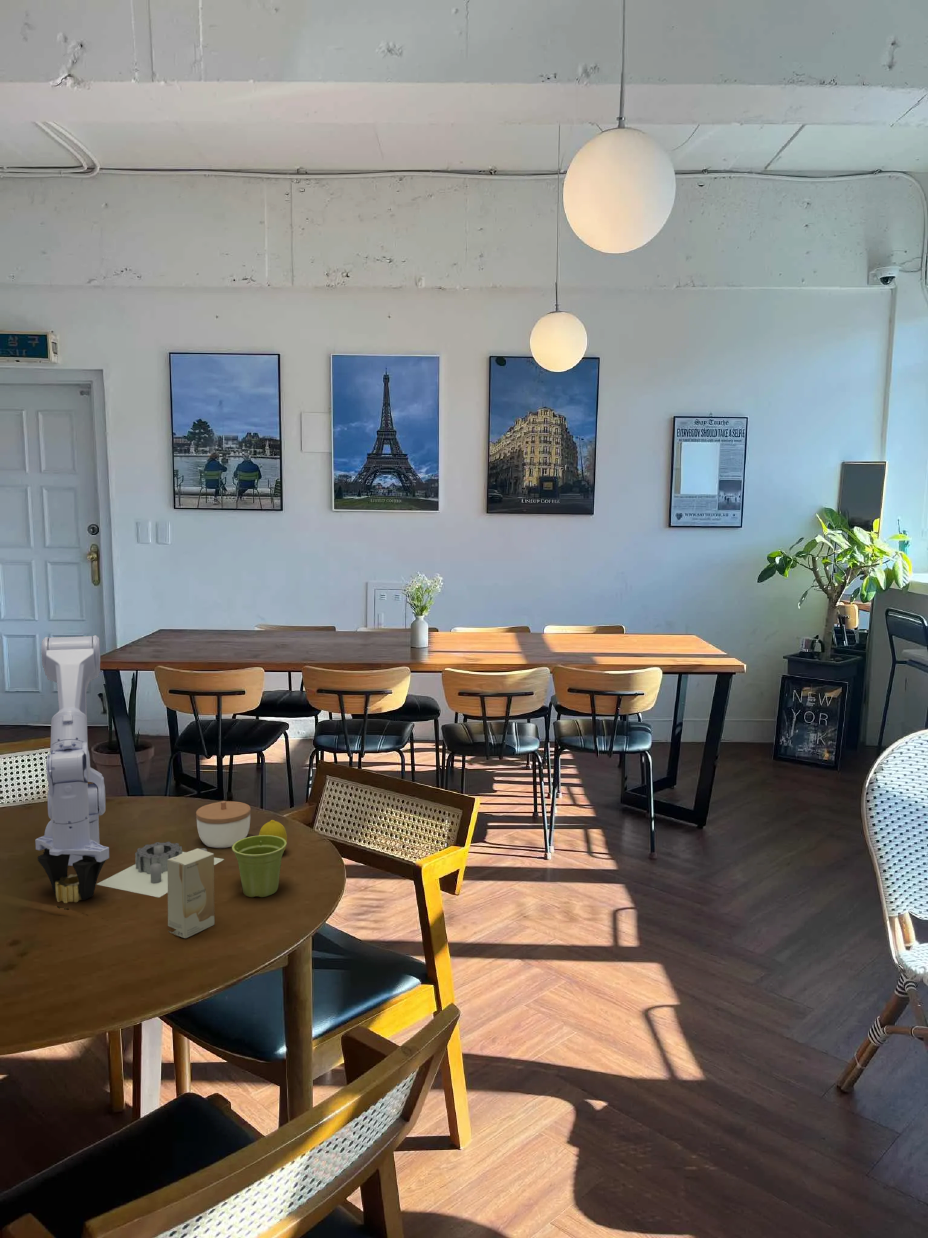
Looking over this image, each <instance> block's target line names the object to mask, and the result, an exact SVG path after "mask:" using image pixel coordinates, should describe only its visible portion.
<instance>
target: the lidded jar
mask: <svg viewBox="0 0 928 1238" xmlns="http://www.w3.org/2000/svg"><path fill="white" fill-rule="evenodd" d="M251 811H252V810H251V806H250V805H249V804H248V803H245V802H240V801H231V800H230V801H229V800H228V801H226V800H221V801H219V802H218V801H216V802H212V803H208V804H205V805H203V806H201V807H199V808H197V810H196V812H195V818H196V828H197V832H198V836H199V838H200V840H201V841H202V843H203V844H204V845H205V846H206V847H209V848H215V849H225V848H232V846H233V844H234V843H236V842H237V841H239V840H241V839H244V838H247V836H248V834H249V831H250V826H251V825H250V824H251Z"/></svg>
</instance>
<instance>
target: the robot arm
mask: <svg viewBox="0 0 928 1238" xmlns="http://www.w3.org/2000/svg"><path fill="white" fill-rule="evenodd" d="M40 650H41V653H40V654H41V665H42V668H43V670H44V674H45V676H46V678H47V680H48V681H51V682H54V683H56V685H57V686H56V687H57V699H58V701H57V703H58V711H56V713H55V714H54V715H53V716H52V717H51V722H50V723H51V724H50V747H49V748H50V752H49V754H47V755H46V762H45V770H46V781H47V783H48V784H47V785H48V791H47V815H48V818H49V819H50V821H48V823H47V824H46V827H45V830H44V835H42V836H39V837H38V838H36V839H35V850H36V851H42V850H43V854H40V855H38V857H37V861H38V862H39V864H40V865H41V866H42V867H43V868H42V869H43V870H44V871H45V873H46V875H47V877H48V879H49V881H50V885H51V888H52V890H53V891H52V892H53V894H55V895H56V886H55V882H56V881H59V880H60V878H61V877H66V876H68V869H69V866H71V867H73V868H74V870H75V875H77V877H78V881H79V889H80V896H81V900H83V901H86V900H88V899H89V898H92V897H93V896H94V895H95V889H96V886H97V885H96V884H97V882H98V878H99V875H100V872H101V870H102V869H103V866H104V864H105V863H106V862H107V860H108V859H110V847H109V846H105V845H102V844H101V843H100V824H99V823H100V819H99V818H100V816H103V815H104V814H105V812H106V787H105V786H106V785H105V778H104V776H103V774H102V773H101V772H100V771H98V770H96V769H94V768H93V767H91V756H90V751H89V746H88V744H89V743H88V739H89V738H88V711H87V710H88V707H87V706H88V705H87V691H88V687H89V685H90V682H91V681H93V680H95V679H97V678H99V677H100V673H101V643H100V637H99V636H98V635H96V634H95V635H93V636H92V635H90V636H89V635H88V636H87V635H86V636H85V635H84V636H62V637H61V636H59V637H55V636H54V637H49V636H45V637H44V638H43V639H42V640H41V649H40Z"/></svg>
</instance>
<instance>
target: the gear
mask: <svg viewBox="0 0 928 1238" xmlns="http://www.w3.org/2000/svg"><path fill="white" fill-rule="evenodd" d="M157 845H163V846H164V853H163V854H154V846H157ZM182 852H183V846H182V845H181V846H180V843H178V842H176V843H171V841H166V842H159V841H158V842H156V841H155V842H154V843H152V844H144V846H143V847H138V848H137V849H136V852H135V853H134V855H135V856H134V857H135V864H136V869H138V872H140V873H142V872H146V873H147V874H151V871H150V866H151V865H152V864H156V863H159V864H161V873H163V872H166V871H168V865H167V860H168V859H170V858H173V857H176V856H178V855H180V854H182Z"/></svg>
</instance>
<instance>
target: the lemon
mask: <svg viewBox="0 0 928 1238" xmlns="http://www.w3.org/2000/svg"><path fill="white" fill-rule="evenodd" d="M259 835H273V836H278V837H281V838H283V839H284V840H286V847H287V844H288V834H287V830H286V828H285V826H284V825H283V824H282V823H280V821H277V820H274V819H271V820H270V821H267V822H266V823H264V824H263V825H262V826H261V828H260V830H259V833H258V836H259ZM286 847H285V848H284V851H285V850H286Z"/></svg>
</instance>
